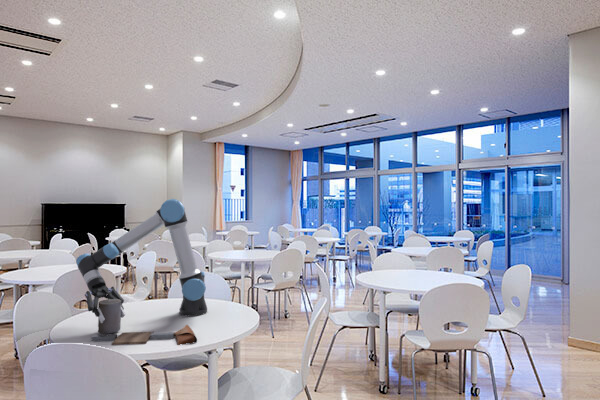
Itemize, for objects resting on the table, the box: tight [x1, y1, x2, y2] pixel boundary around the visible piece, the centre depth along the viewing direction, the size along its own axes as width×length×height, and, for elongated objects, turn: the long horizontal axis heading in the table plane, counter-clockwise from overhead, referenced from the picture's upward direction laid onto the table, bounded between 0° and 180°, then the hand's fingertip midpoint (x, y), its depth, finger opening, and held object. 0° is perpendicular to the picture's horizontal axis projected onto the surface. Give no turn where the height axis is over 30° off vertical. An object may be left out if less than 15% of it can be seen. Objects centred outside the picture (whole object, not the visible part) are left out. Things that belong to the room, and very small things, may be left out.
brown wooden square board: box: [111, 331, 155, 346], centre depth 181 cm, size 14×14×1 cm
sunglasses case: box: [174, 324, 198, 346], centre depth 182 cm, size 18×7×7 cm
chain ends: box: [90, 331, 176, 342], centre depth 181 cm, size 35×3×2 cm, turn 97°
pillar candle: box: [97, 298, 122, 334], centre depth 190 cm, size 10×10×15 cm
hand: (113, 318), depth 188 cm, fingers closed on pillar candle, 9 cm apart
